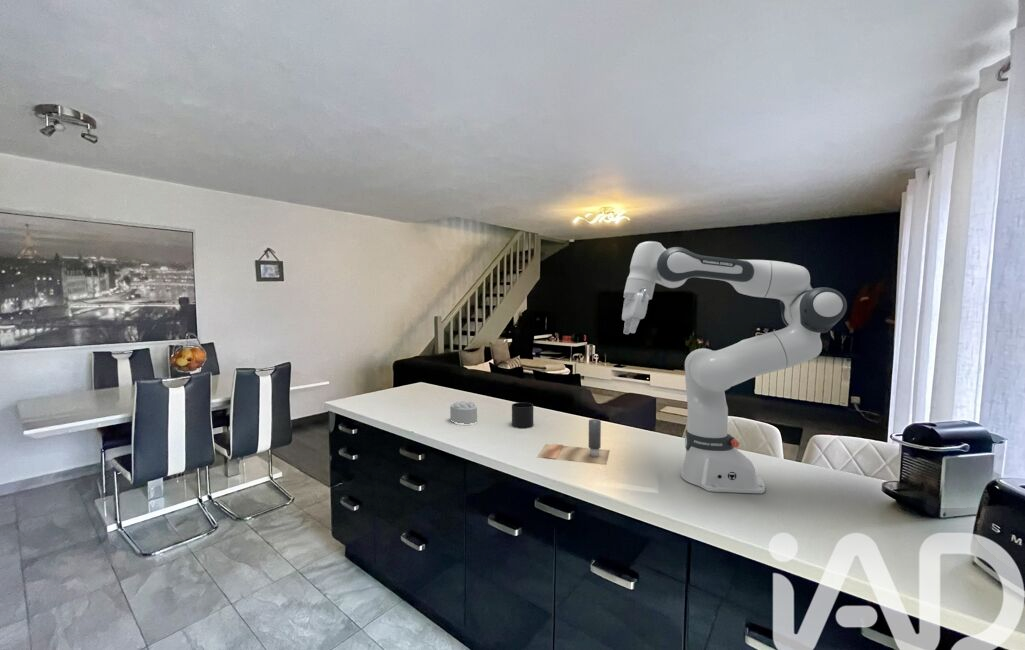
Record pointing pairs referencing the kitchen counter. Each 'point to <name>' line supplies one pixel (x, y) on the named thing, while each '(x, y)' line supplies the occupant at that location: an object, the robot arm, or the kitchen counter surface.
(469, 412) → the lumpy-topped squat cylinder
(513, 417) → the mug
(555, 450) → the board
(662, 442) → the kitchen counter surface
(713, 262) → the robot arm
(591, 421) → the round-topped grey cylinder
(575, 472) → the kitchen counter surface
